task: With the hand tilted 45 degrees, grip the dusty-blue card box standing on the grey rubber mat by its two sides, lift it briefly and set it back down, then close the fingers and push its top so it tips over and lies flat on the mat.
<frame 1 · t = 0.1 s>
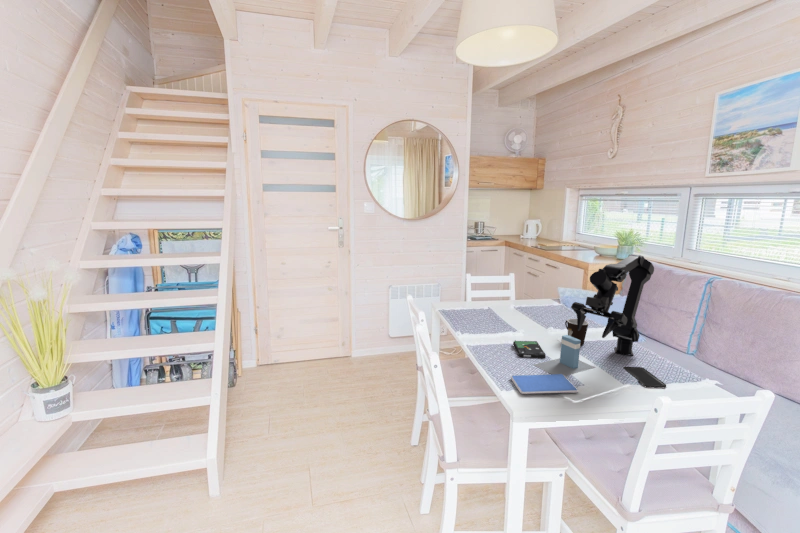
hand: (590, 334, 145), 15 cm above the table, tool tilted 35°, fingers open, 9 cm apart
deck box: (568, 364, 152), point 1 cm above the table, touching mat
phone: (643, 379, 143), on the table
tablet computer: (543, 386, 136), on the table, touching mat
mat: (563, 367, 151), on the table
coffee mug: (574, 342, 178), on the table
disk drive: (528, 353, 166), on the table
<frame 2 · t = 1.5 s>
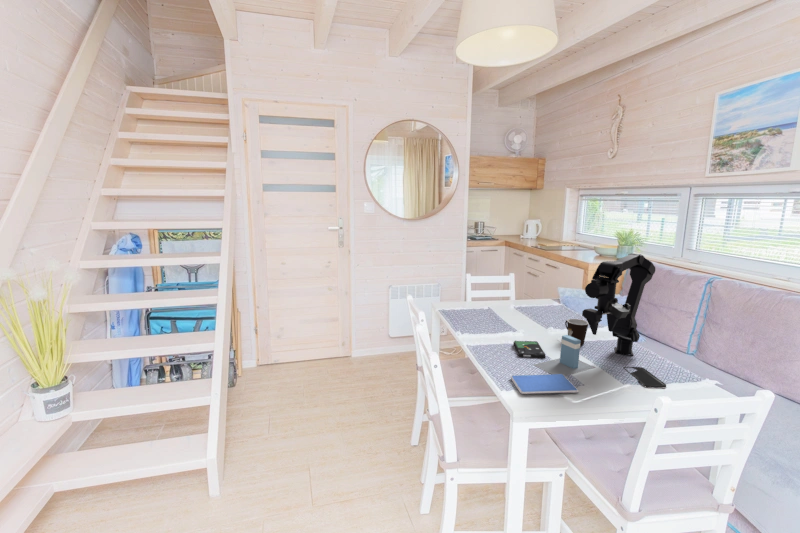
hand: (602, 332, 155), 12 cm above the table, tool pointing down, fingers open, 9 cm apart
nothing on the table moved.
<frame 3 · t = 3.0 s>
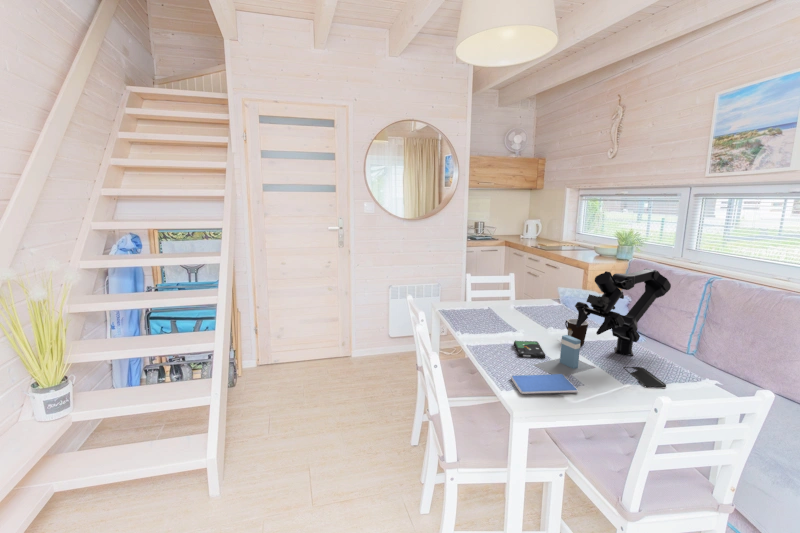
hand: (586, 330, 153), 13 cm above the table, tool tilted 45°, fingers open, 9 cm apart
nothing on the table moved.
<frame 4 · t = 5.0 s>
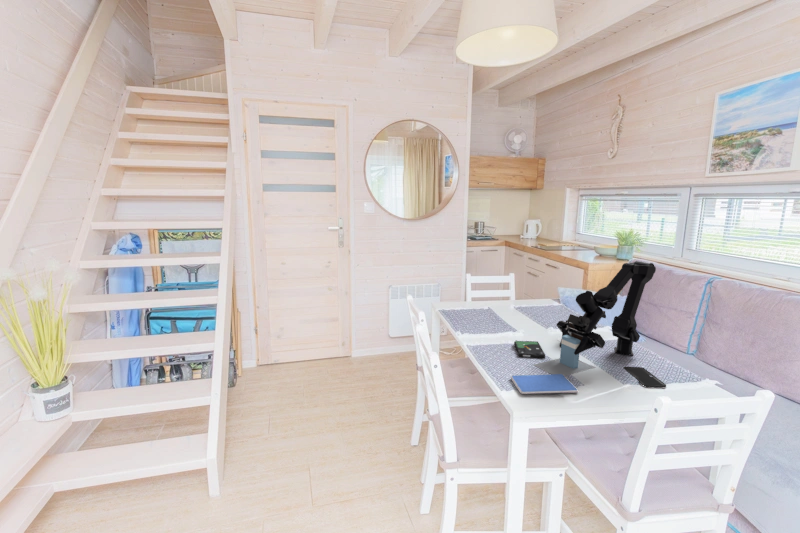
hand: (567, 350, 150), 7 cm above the table, tool tilted 45°, fingers closed on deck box, 6 cm apart
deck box: (568, 364, 152), point 1 cm above the table, touching gripper, mat
everything else where it was.
when the fingers open (7 cm above the table, at t = 6.9 s): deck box stays where it is, resting on mat.
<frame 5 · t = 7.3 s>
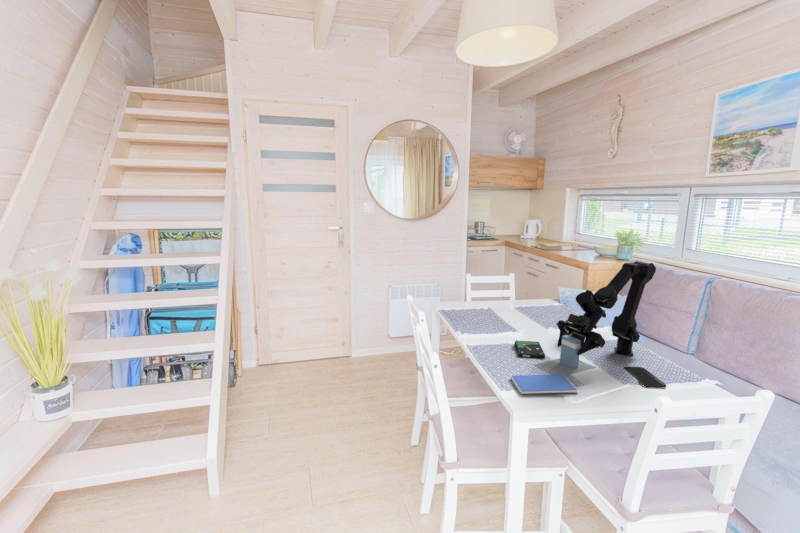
hand: (567, 350, 150), 7 cm above the table, tool tilted 45°, fingers open, 9 cm apart
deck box: (568, 364, 152), point 1 cm above the table, touching mat
everything else where it was.
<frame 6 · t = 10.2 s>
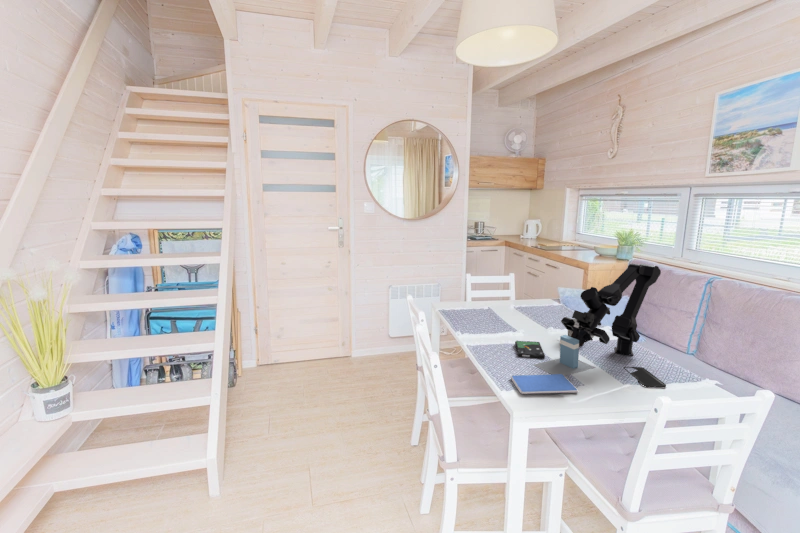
hand: (572, 346, 151), 8 cm above the table, tool tilted 45°, fingers closed
nothing on the table moved.
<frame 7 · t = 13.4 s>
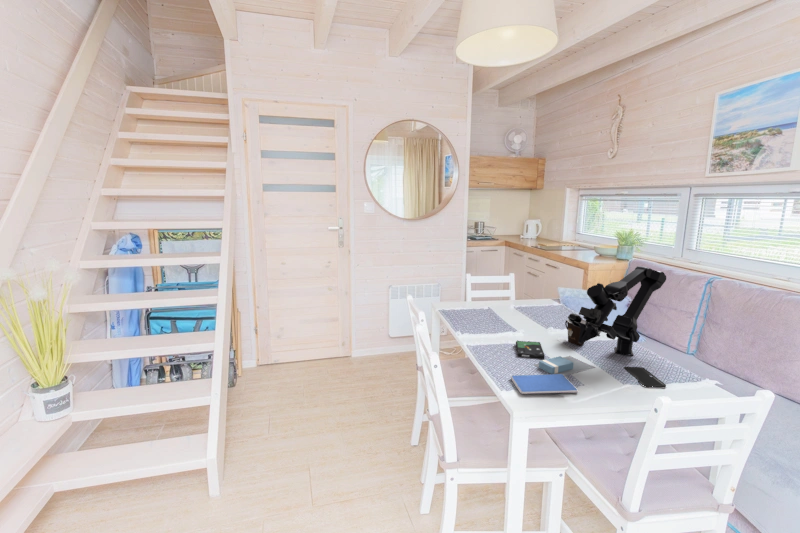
hand: (579, 342, 153), 9 cm above the table, tool tilted 45°, fingers closed
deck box: (566, 362, 151), point 2 cm above the table, tilted 90°, touching mat
everything else where it was.
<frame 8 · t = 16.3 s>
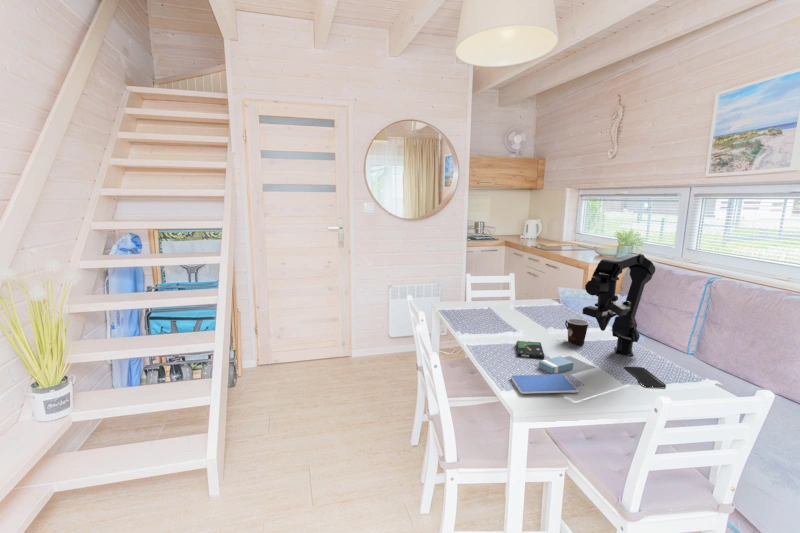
hand: (602, 330, 155), 13 cm above the table, tool pointing down, fingers closed
nothing on the table moved.
at the end: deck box tilted 90°; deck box touching mat; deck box 1.0 cm from the mat (horizontally) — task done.
